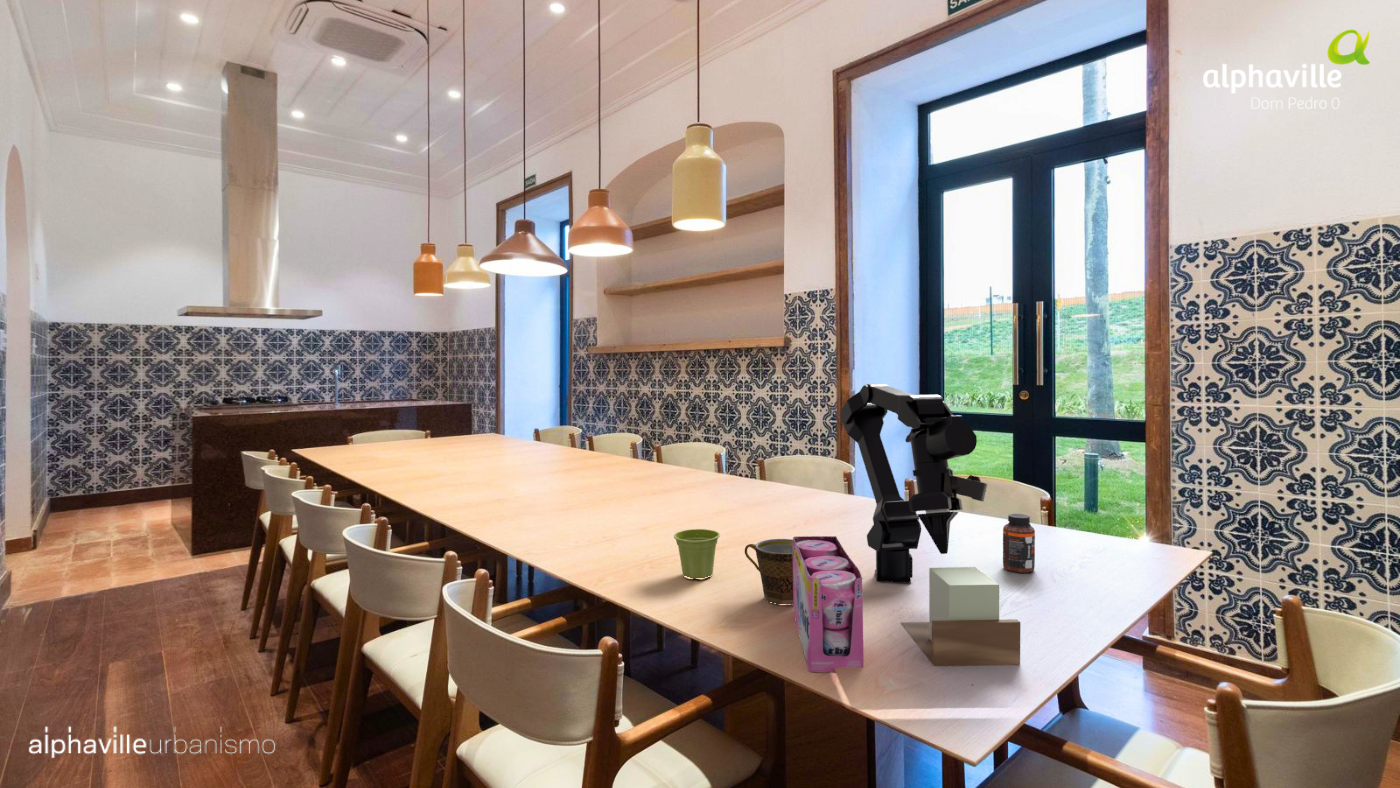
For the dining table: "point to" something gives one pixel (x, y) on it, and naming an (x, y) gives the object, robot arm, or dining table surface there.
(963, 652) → the brown box
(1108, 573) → the dining table surface
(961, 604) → the sage block
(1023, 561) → the supplement bottle
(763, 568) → the ceramic cup
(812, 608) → the gum box
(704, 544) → the plant pot
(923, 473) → the robot arm
